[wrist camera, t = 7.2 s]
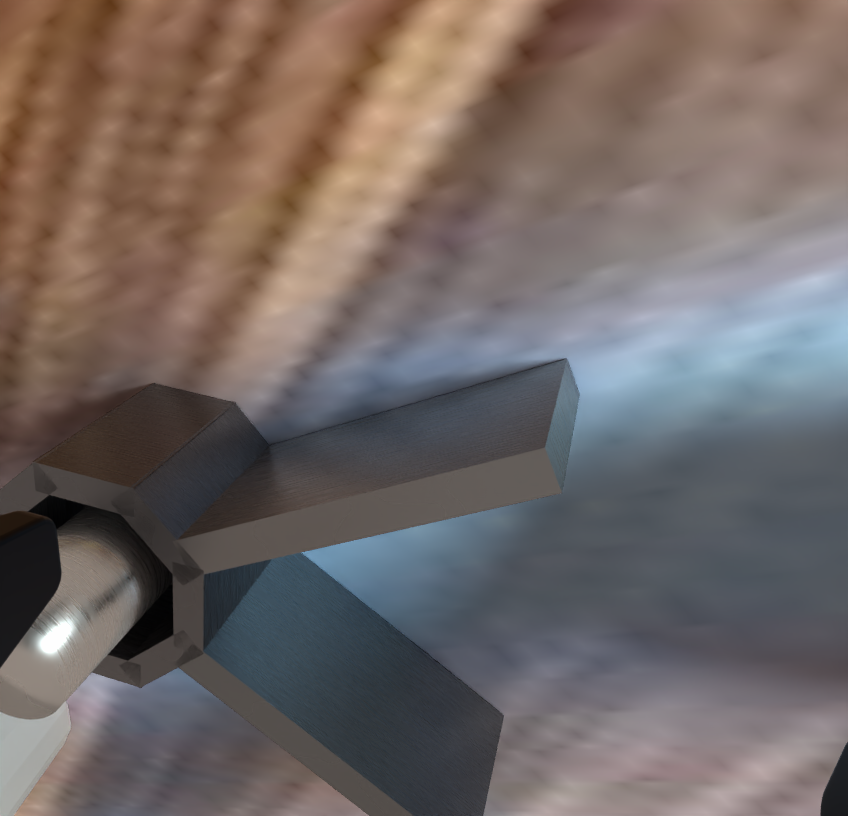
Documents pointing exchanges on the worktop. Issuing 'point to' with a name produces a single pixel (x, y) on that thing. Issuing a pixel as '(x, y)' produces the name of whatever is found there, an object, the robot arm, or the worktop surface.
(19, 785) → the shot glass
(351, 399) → the worktop surface
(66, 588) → the hinge pin
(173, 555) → the grey ring with handle
